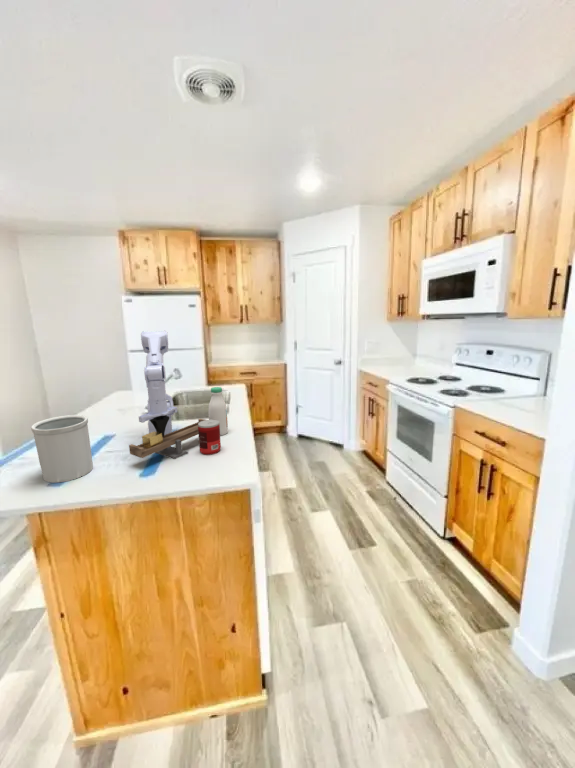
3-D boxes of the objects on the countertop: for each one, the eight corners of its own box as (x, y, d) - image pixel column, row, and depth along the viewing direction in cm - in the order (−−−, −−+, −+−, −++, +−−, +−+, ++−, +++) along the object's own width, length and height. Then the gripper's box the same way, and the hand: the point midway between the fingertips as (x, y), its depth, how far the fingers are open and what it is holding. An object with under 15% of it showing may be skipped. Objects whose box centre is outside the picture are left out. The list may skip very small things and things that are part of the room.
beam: (129, 453, 113) (128, 445, 112) (200, 425, 139) (199, 418, 138) (142, 458, 109) (141, 449, 108) (212, 428, 136) (211, 420, 135)
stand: (155, 452, 124) (153, 438, 123) (168, 447, 129) (167, 433, 128) (174, 459, 118) (173, 443, 117) (188, 453, 123) (186, 438, 122)
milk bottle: (226, 436, 140) (223, 389, 136) (207, 436, 140) (204, 389, 136) (229, 430, 148) (227, 385, 144) (212, 430, 148) (209, 386, 144)
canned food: (223, 446, 129) (221, 419, 126) (217, 455, 121) (215, 426, 119) (204, 446, 129) (202, 419, 127) (196, 454, 122) (194, 426, 119)
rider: (143, 447, 115) (142, 436, 114) (155, 441, 119) (154, 431, 118) (151, 449, 113) (149, 438, 112) (163, 443, 117) (161, 433, 117)
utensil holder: (62, 487, 99) (53, 431, 96) (29, 479, 104) (19, 426, 101) (104, 466, 113) (98, 417, 109) (73, 460, 118) (66, 413, 114)
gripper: (146, 405, 108) (150, 445, 111) (181, 396, 120) (184, 432, 123) (133, 402, 111) (137, 441, 114) (168, 394, 124) (171, 429, 126)
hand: (161, 436), depth 119 cm, fingers closed
